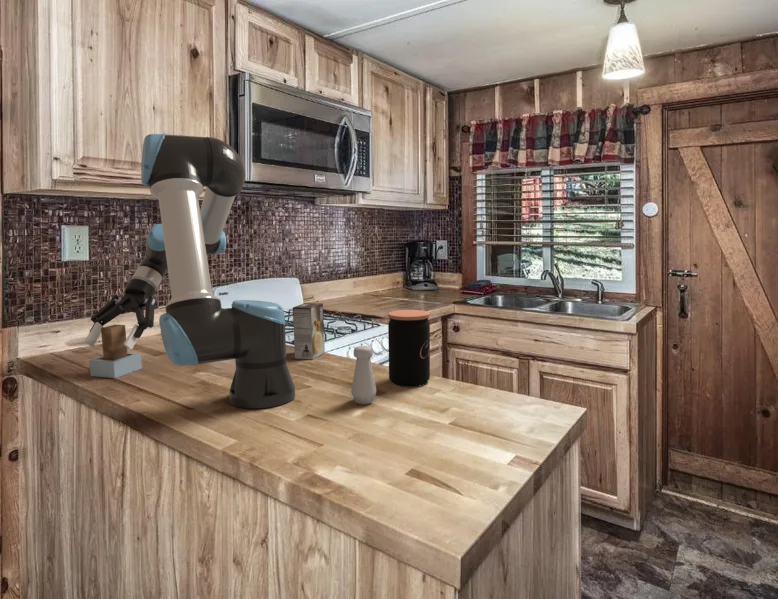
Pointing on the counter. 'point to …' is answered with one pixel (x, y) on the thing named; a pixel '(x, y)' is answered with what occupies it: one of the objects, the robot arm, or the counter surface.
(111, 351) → the upright wooden block
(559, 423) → the counter surface
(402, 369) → the coffee jar
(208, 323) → the robot arm
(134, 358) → the blue-grey open box
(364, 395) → the salt shaker
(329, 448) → the counter surface
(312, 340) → the coffee box
